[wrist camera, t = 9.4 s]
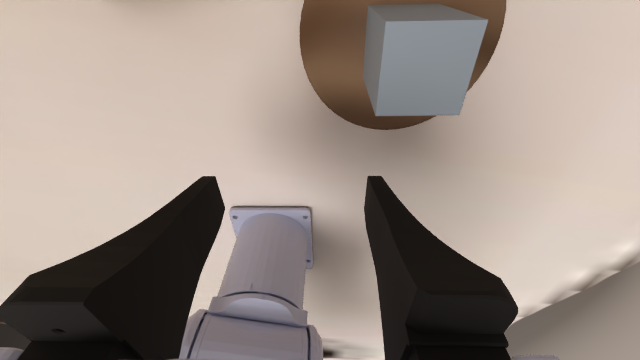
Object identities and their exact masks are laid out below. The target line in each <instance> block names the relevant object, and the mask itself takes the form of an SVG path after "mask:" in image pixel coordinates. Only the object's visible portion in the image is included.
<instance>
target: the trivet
mask: <svg viewBox="0 0 640 360" xmlns="http://www.w3.org/2000/svg"><path fill="white" fill-rule="evenodd" d="M407 4H441V5H444V6H448V7H451V8H454V9H457V10H460V11H463V12H466V13H469V14H472V15H476V16H479V17H482V18H485V19H488V23H487V26H486V29H485V33H484V36H483V39H482V43H481V46H480V49H479V52H478V56H477V59H476V62H475V66H474V69H473V72H472V75H471V79H470V82H469V85H468V88H467V91H468V90H469V89H470V88H471V87H472V86H473V84H474V83H475V82H476V81H477V79H478V78H479V77H480V75H481V74H482V72H483V71H484V69H485V68H486V66H487V64H488V63H489V61H490V59H491V57H492V55H493V53H494V51H495V48H496V46H497V43H498V41H499V38H500V34H501V31H502V27H503V24H504V17H505V11H506V0H304V4H303V9H302V13H301V22H300V48H301V56H302V60H303V64H304V68H305V71H306V73H307V76H308V79H309V81H310V83H311V85H312V87H313V88H314V90H315V92H316V93H317V94H318V96H319V97H320V99H321V100H322V101H323V102H324V103H325V104H326V105H327V106H328V108H330V109H331V110H332V111H333V112H335V113H336V114H337V115H339V116H340V117H342V118H343V119H345V120H347V121H349V122H351V123H353V124H356V125H359V126H362V127H366V128H372V129H382V130H389V129H400V128H405V127H410V126H413V125H416V124H419V123H422V122H424V121H427V120H429V119H431V118H433V117H435V116H437V115H425V116H375V113H374V110H373V107H372V104H371V101H370V98H369V95H368V92H367V88H366V85H365V82H364V79H363V67H364V54H365V40H366V26H367V13H368V5H407Z"/></svg>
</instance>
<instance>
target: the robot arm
mask: <svg viewBox="0 0 640 360" xmlns="http://www.w3.org/2000/svg"><path fill="white" fill-rule="evenodd" d="M224 210H225V206H224V203H223V200H222V196H221V193H220V190H219V187H218V183H217V180H216V177H215V176H203V177H201V178H200V179H198V180H197V181H196V182H194V183H193V184H192V185H191V186H189V187H188V188H187V189H186V190H184V191H183V192H182V193H181V194H179V195H178V196H177V197H176V198H174V199H173V200H172V201H170V202H169V203H168V204H166V205H165V206H164V207H162V208H161V209H160V210H158V211H157V212H155V213H154V214H153V215H151V216H150V217H148V218H147V219H145V220H144V221H142V222H141V223H139V224H138V225H136V226H134V227H133V228H131V229H129V230H128V231H126V232H124V233H123V234H121V235H119V236H117V237H115V238H113V239H111V240H109V241H108V242H106V243H104V244H102V245H100V246H98V247H96V248H94V249H92V250H90V251H87V252H85V253H83V254H81V255H79V256H76V257H74V258H72V259H70V260H67V261H65V262H62V263H60V264H57V265H55V266H52V267H50V268H47V269H44V270H42V271H39V272H37V273H34V274H31V275H29V276H28V277H27V278H26V279H25V281H24V282H23V283H22V284H21V285H20V286H19V287H18V288H17V289H16V290H15V291H14V292H13V293H12V294H11V295H10V296H9V297H8V298H7V299H6V300H5V301H4V303H3V304H2V305H1V306H0V318H1V320H2V321H4V322H5V323H6V324H7V325H9V326H10V327H12V328H13V329H15V330H16V331H18V332H19V333H20V334H22V335H23V336H25V337H26V338H28V339H29V340H31V341H32V342H31V343H30V344H29V345H28V347H27V348H26V349H25V350H21V349H18V348H0V360H323V347H322V341H321V337H320V335H319V334H318V332H317V330H316V328H315V327H314V326H313V325H307V314H308V312H307V311H305V310H303V297H304V283H305V269H311V268H312V267H313V253H312V234H311V214H310V210H309V209H308V208H238V207H234V208H231V209H230V211H229V215H230V218H231V221H232V225H233V228H234V231H235V235H236V238H237V239H236V242H235V245H234V248H233V251H232V254H231V257H230V260H229V263H228V266H227V269H226V272H225V275H224V278H223V281H222V284H221V287H220V290H219V293H218V296H217V297H213V298H212V301H211V303H210V306H209V309H208V310H204V309H199V310H198V311H197V312H196V313H195V314H193V315H192V316H190V317H189V318H188V316H189V312H190V309H191V305H192V301H193V298H194V294H195V291H196V287H197V284H198V281H199V277H200V274H201V272H202V269H203V266H204V264H205V262H206V259H207V257H208V255H209V252H210V250H211V248H212V245H213V243H214V241H215V238H216V236H217V233H218V231H219V229H220V226H221V222H222V219H223V215H224ZM364 211H365V221H366V229H367V234H368V238H369V243H370V247H371V252H372V256H373V260H374V265H375V270H376V275H377V283H378V291H379V300H380V309H381V319H382V329H383V340H384V352H385V360H559V359H558V358H557V357H555V356H551V355H548V356H547V355H519V356H515V357H512V358H510V356H509V354H508V352H507V350H506V348H507V347H508V341H507V339H506V337H505V335H504V332H505V330H506V329H507V328H508V327H509V326H510V324H511V323H512V322H513V321H514V319H515V317H516V316H517V314H518V307H517V305H516V303H515V301H514V299H513V298H512V296H511V294H510V292H509V290H508V289H507V287H506V286H505V284H504V283H503V281H502V280H501V278H499V277H497V276H495V275H494V274H492V273H490V272H488V271H487V270H485V269H483V268H481V267H479V266H478V265H476V264H474V263H473V262H471V261H469V260H468V259H466V258H465V257H463V256H462V255H460V254H459V253H457V252H456V251H454V250H453V249H451V248H450V247H449V246H447V245H446V244H445V243H443V242H442V241H441V240H439V239H438V238H437V237H436V236H434V235H433V234H432V233H431V232H430V231H429V230H427V229H426V228H425V227H424V226H423V225H422V224H421V223H420V222H419V221H418V220H417V219H416V218H415V217H414V216H413V215H412V214H411V213H410V212H409V211H408V210H407V208H406V207H405V206H404V205H403V204H402V203H401V201H400V200H399V199H398V198H397V197H396V195H395V194H394V193H393V191H392V190H391V189H390V187H389V186H388V185H387V183H386V182H385V180H384V179H383V178H382V177H381V176H368V179H367V188H366V197H365V206H364ZM234 215H235V216H234Z"/></svg>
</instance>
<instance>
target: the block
mask: <svg viewBox="0 0 640 360" xmlns="http://www.w3.org/2000/svg"><path fill="white" fill-rule="evenodd" d="M487 23H488V19H485V18H482V17H479V16H476V15H472V14H469V13H466V12H463V11H460V10H457V9H454V8H451V7H448V6H444V5H441V4H407V5H368V13H367V26H366V40H365V54H364V67H363V79H364V82H365V85H366V88H367V92H368V95H369V98H370V101H371V104H372V107H373V110H374V113H375V116H425V115H460V111H461V108H462V105H463V102H464V98H465V95H466V92H467V88H468V85H469V82H470V79H471V75H472V72H473V69H474V66H475V62H476V59H477V56H478V52H479V49H480V46H481V43H482V39H483V36H484V33H485V29H486V26H487Z"/></svg>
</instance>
